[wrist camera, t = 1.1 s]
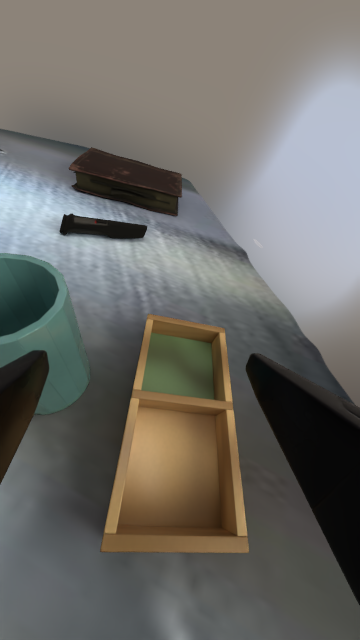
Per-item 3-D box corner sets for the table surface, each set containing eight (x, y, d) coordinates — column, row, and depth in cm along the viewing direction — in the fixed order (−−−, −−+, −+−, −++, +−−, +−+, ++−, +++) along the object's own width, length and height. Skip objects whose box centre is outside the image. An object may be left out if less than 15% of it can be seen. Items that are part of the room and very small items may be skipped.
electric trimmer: (146, 245, 40) (148, 230, 38) (59, 235, 35) (55, 218, 33) (144, 235, 42) (146, 220, 40) (62, 224, 37) (58, 207, 35)
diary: (93, 167, 57) (91, 145, 53) (177, 190, 61) (181, 171, 57) (71, 192, 45) (66, 166, 41) (176, 218, 50) (181, 197, 46)
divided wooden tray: (228, 539, 17) (249, 553, 14) (103, 537, 15) (99, 552, 12) (214, 341, 29) (224, 328, 26) (145, 329, 27) (148, 313, 25)
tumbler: (64, 425, 19) (1, 372, 9) (-8, 400, 19) (-156, 316, 9) (102, 360, 23) (89, 277, 13) (45, 340, 23) (-12, 240, 13)
